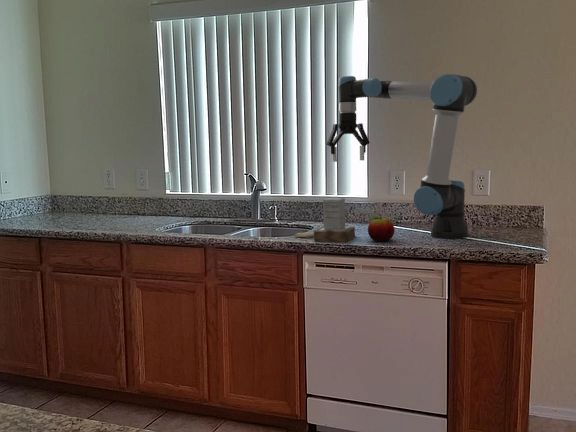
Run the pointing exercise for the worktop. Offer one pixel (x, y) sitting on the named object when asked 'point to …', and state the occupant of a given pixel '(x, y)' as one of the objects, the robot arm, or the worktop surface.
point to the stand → (334, 234)
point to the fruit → (380, 229)
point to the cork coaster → (305, 234)
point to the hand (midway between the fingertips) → (348, 161)
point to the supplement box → (334, 213)
